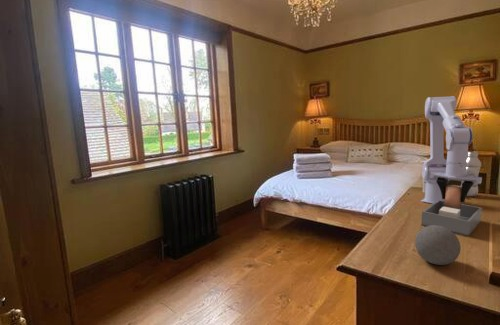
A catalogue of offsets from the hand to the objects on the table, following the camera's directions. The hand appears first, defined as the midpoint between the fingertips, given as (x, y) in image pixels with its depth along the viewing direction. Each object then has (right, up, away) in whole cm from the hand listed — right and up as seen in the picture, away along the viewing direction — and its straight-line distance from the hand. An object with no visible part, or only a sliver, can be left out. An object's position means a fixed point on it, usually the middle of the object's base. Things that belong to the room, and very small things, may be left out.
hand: (453, 200), depth 102 cm
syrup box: (+13, -1, +34) cm, 36 cm away
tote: (-2, -8, -2) cm, 9 cm away
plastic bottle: (+25, -2, +26) cm, 36 cm away
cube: (-4, -8, -4) cm, 10 cm away
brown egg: (0, -2, 0) cm, 2 cm away
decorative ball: (-23, -13, -26) cm, 38 cm away
